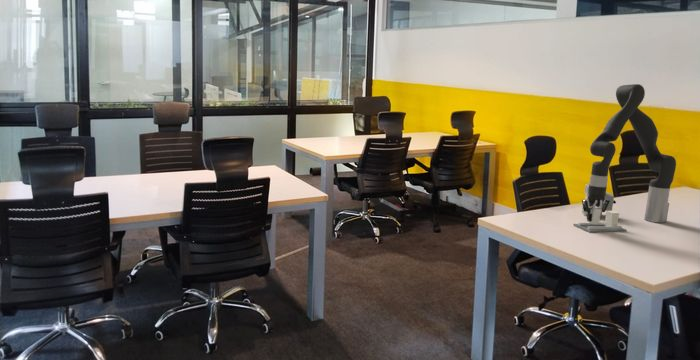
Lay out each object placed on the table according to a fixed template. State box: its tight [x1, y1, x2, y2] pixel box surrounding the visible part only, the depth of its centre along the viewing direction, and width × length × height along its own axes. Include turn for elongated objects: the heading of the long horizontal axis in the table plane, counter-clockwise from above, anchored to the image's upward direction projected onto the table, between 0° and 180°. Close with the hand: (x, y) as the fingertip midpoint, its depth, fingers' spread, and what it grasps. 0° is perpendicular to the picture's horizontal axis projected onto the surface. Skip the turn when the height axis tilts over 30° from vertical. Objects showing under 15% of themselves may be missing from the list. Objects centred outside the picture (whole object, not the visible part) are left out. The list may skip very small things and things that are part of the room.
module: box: [586, 207, 601, 224], centre depth 283 cm, size 4×5×7 cm
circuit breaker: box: [581, 183, 617, 218], centre depth 308 cm, size 8×14×15 cm, turn 78°
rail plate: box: [573, 210, 628, 234], centre depth 284 cm, size 20×12×8 cm, turn 106°
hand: (593, 220), depth 283 cm, fingers closed on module, 3 cm apart
